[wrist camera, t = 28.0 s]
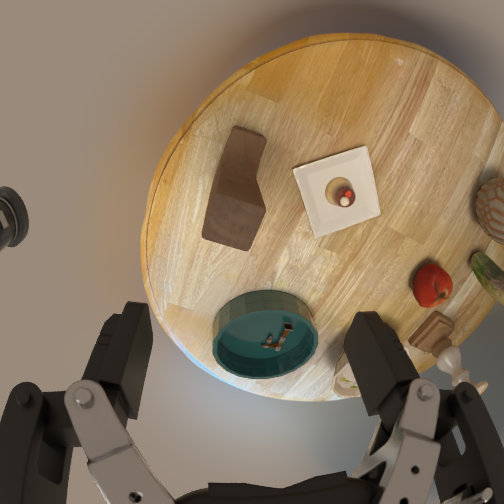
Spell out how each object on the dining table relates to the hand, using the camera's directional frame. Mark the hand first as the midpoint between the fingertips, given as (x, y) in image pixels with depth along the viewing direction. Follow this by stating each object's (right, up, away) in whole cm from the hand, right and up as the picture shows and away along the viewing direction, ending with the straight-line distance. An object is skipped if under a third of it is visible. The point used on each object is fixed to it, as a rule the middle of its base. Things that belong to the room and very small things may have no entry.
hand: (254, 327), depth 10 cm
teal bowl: (+2, -12, +44) cm, 46 cm away
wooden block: (-2, +16, +28) cm, 32 cm away
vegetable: (+52, +1, +41) cm, 66 cm away
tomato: (+36, -2, +41) cm, 55 cm away
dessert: (+13, +12, +31) cm, 36 cm away
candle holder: (+47, -18, +51) cm, 72 cm away
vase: (+50, +14, +33) cm, 61 cm away
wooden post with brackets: (+4, -13, +44) cm, 46 cm away
